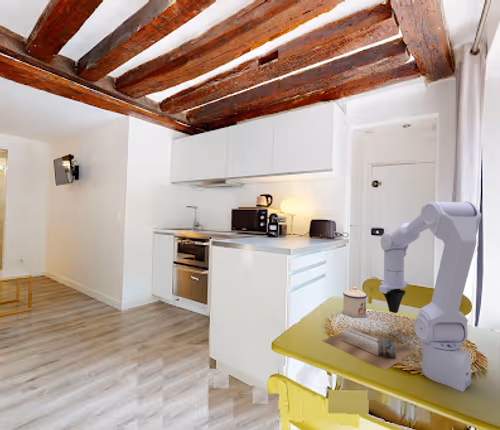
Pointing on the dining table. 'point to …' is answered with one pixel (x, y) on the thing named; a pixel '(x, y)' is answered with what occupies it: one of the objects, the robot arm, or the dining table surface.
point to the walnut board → (369, 357)
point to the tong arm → (386, 351)
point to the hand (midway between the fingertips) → (393, 312)
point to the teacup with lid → (354, 303)
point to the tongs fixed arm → (365, 342)
